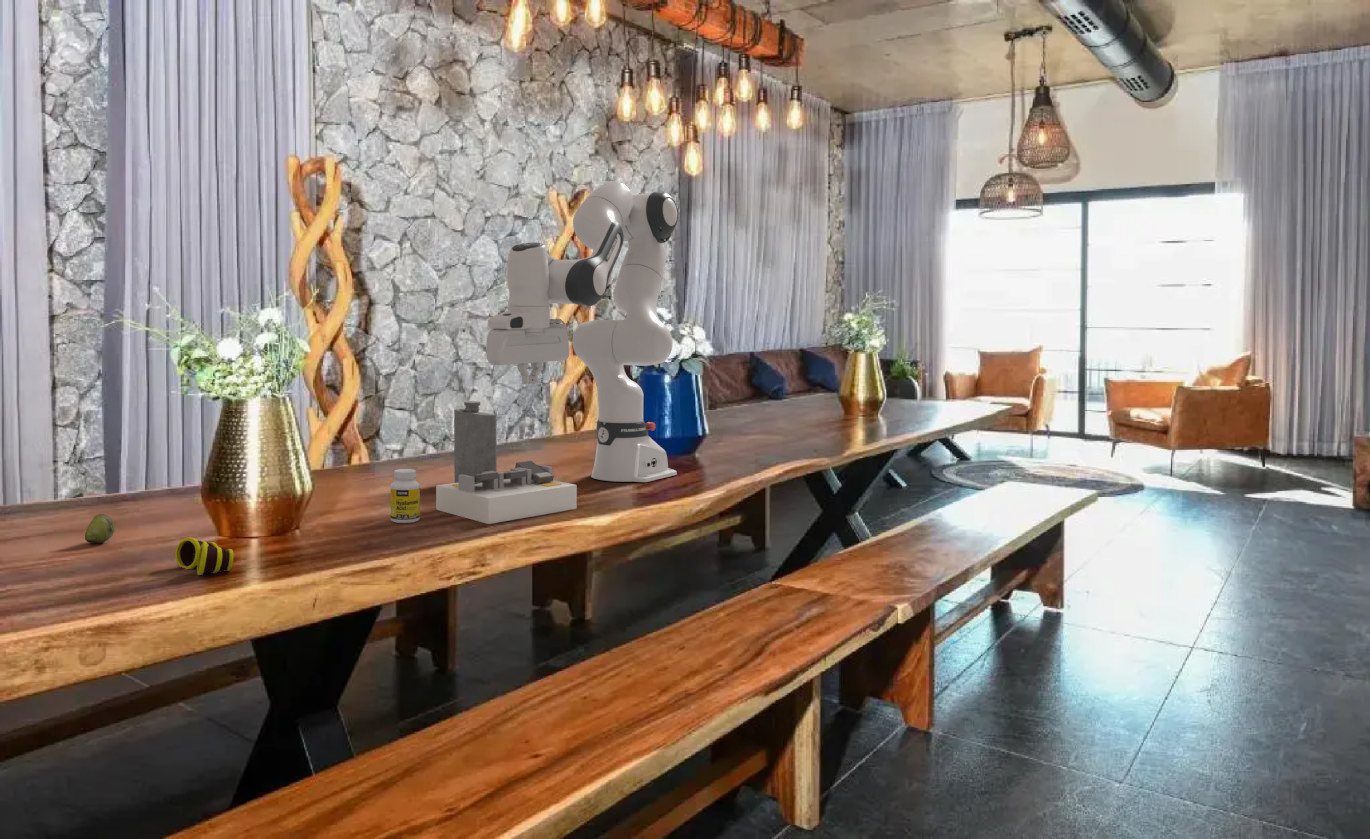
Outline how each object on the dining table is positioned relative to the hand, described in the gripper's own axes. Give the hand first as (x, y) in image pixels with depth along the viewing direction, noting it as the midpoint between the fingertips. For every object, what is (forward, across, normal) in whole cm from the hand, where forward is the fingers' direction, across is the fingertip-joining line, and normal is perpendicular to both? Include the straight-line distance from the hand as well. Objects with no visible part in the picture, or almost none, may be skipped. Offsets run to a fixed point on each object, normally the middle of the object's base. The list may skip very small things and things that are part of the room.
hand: (530, 383), depth 206 cm
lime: (+23, +80, -17) cm, 84 cm away
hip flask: (+26, +2, -18) cm, 31 cm away
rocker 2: (+18, +12, +7) cm, 22 cm away
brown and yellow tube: (+23, +74, +12) cm, 78 cm away
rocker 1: (+17, +19, +6) cm, 26 cm away
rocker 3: (+18, +5, +7) cm, 20 cm away
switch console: (+24, +12, +7) cm, 28 cm away
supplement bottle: (+24, +33, +2) cm, 41 cm away
